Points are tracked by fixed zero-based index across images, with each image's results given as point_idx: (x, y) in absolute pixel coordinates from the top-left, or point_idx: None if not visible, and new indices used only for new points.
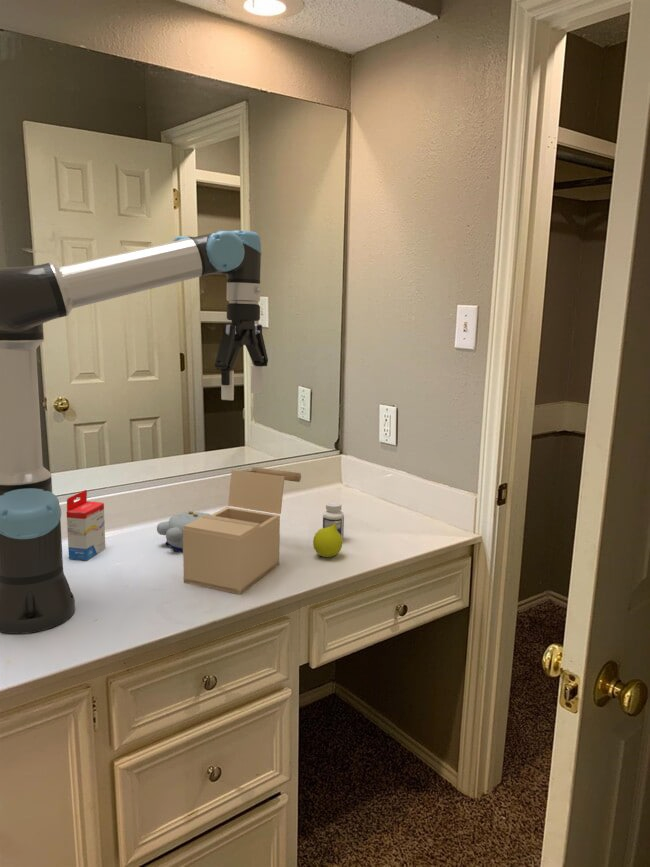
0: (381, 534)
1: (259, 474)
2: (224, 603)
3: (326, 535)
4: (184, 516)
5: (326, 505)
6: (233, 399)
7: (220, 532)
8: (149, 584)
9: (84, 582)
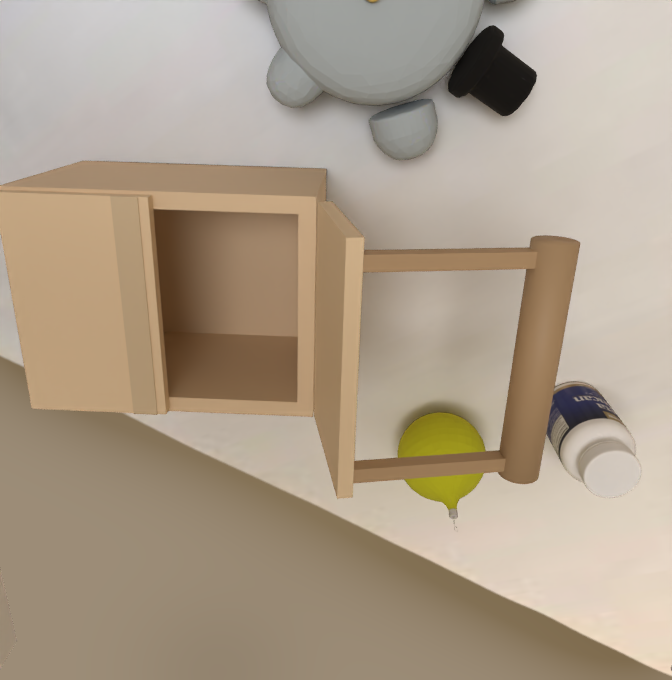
0: (661, 510)
1: (340, 390)
2: None
3: (414, 479)
4: None
5: (596, 454)
6: (9, 646)
7: (20, 341)
8: (18, 70)
9: None
